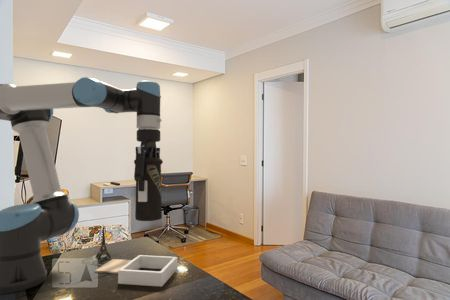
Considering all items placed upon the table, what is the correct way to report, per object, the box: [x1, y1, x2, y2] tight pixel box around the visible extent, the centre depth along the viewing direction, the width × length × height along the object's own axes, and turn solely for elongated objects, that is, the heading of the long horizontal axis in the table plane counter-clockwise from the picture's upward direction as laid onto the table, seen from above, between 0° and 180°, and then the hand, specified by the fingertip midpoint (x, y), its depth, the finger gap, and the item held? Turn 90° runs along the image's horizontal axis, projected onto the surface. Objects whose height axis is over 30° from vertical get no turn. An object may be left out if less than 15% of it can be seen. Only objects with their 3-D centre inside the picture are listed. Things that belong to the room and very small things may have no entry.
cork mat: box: [94, 258, 133, 275], centre depth 103 cm, size 11×11×1 cm
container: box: [133, 157, 164, 222], centre depth 96 cm, size 9×9×20 cm
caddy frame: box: [117, 254, 178, 287], centre depth 95 cm, size 14×14×4 cm
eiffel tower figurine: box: [82, 224, 113, 266], centre depth 113 cm, size 15×10×13 cm
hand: (148, 199), depth 96 cm, fingers closed on container, 8 cm apart
